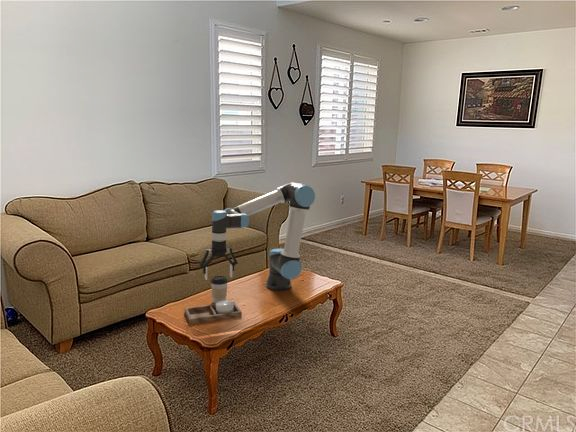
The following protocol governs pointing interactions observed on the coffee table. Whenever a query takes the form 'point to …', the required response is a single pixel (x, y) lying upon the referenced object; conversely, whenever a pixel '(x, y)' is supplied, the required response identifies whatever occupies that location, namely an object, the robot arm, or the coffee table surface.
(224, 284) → the coffee cup
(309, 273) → the coffee table surface
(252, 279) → the coffee table surface
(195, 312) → the box
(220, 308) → the white ceramic dome
